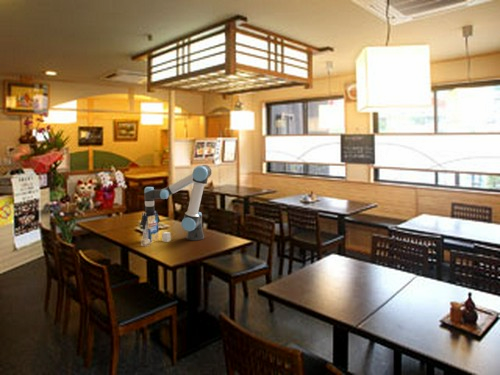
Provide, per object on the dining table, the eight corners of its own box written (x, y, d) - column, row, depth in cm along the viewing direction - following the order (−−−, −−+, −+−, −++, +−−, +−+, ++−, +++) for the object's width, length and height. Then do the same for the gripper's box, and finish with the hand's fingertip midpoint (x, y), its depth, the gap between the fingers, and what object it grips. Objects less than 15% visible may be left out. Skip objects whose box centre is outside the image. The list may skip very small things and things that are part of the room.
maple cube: (150, 245, 294) (150, 239, 293) (145, 246, 290) (144, 240, 289) (146, 244, 297) (146, 238, 296) (141, 245, 293) (140, 239, 292)
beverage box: (143, 242, 304) (142, 215, 301) (153, 239, 313) (152, 213, 310) (148, 243, 300) (147, 216, 297) (158, 240, 309) (158, 214, 306)
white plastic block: (170, 240, 308) (170, 232, 308) (167, 242, 304) (167, 233, 303) (165, 239, 310) (165, 231, 309) (162, 241, 306) (162, 233, 305)
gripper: (157, 203, 314) (158, 228, 317) (134, 207, 295) (136, 233, 298) (163, 204, 310) (164, 229, 313) (140, 208, 291) (141, 235, 294)
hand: (150, 231), depth 305 cm, fingers closed on beverage box, 11 cm apart
